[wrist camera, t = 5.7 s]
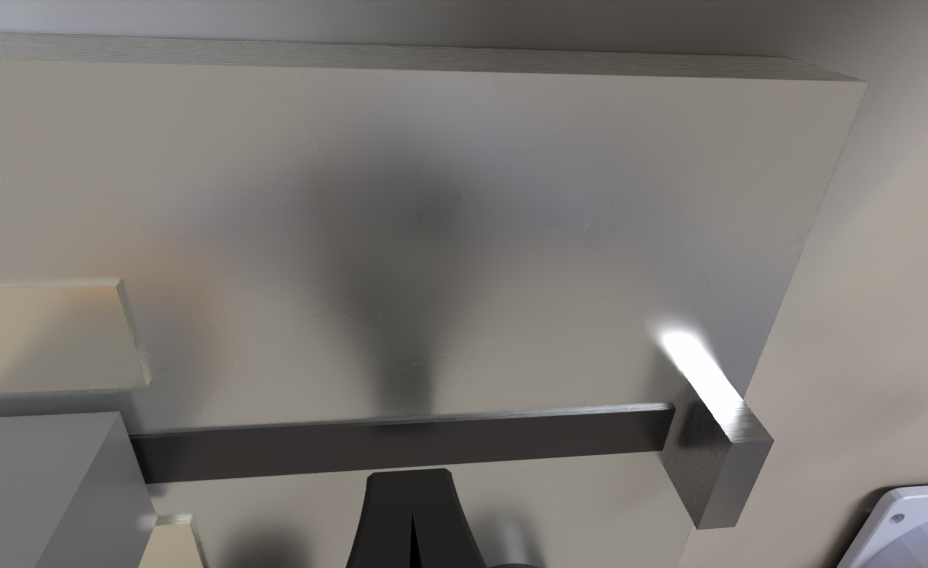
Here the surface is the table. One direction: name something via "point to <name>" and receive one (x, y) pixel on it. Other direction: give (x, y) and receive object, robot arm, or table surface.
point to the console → (408, 280)
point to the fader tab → (71, 493)
